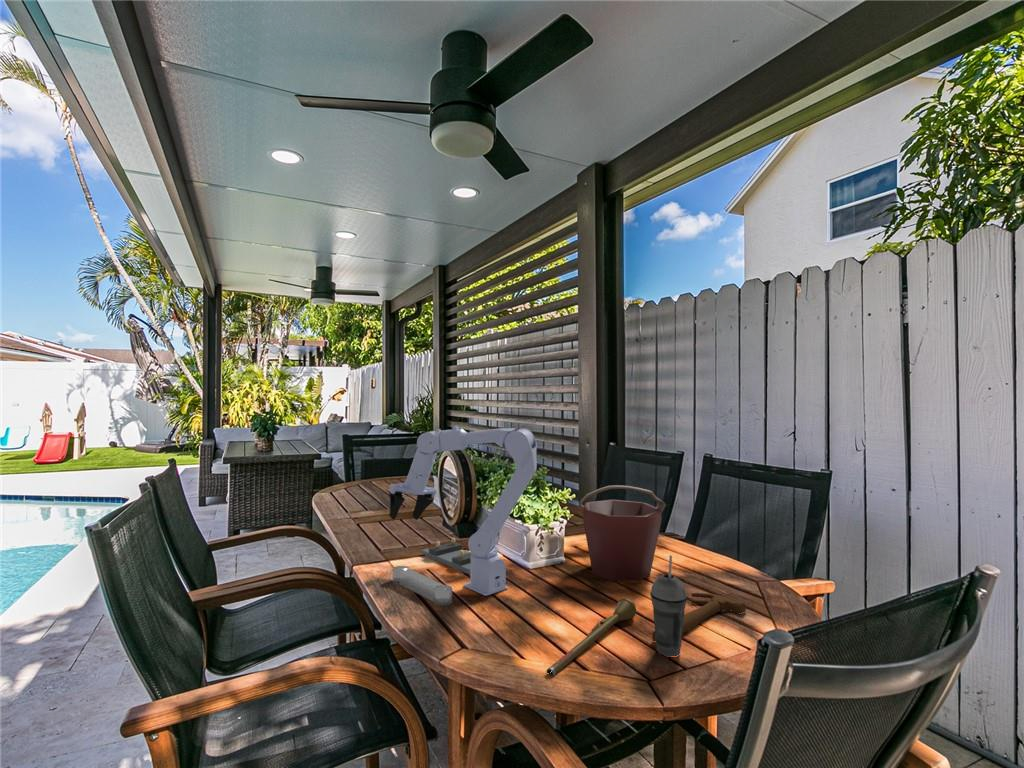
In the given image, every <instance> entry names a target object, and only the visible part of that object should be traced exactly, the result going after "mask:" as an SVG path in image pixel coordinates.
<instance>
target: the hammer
mask: <svg viewBox="0 0 1024 768" xmlns="http://www.w3.org/2000/svg"><path fill="white" fill-rule="evenodd" d="M691 597H692V598H703V600H701V599H700V600H699V599H698V600H697V599H695V600H694V599H693V600H691V603H695V604H696V603H697V604H704V605H702V606H700V607H697V608H696V609H694V610H691V611H689V612H688V613H684V620H683V630H682V633H683V634H684V632H685V633H686V632H688V631H690V630H691V629H693V628H694V627H696V626H697V625H698V624H700V623H701V622H703V621H704V620H707V618H709V617H711V616H712V614H713V615H715V614H718V612H720V611H723V610H732V611H735V612H737V613H740V614H741V613H743V612H745V613H746V608H747V607H746V604H745V603H744V602H742V601H735V600H733V599H731V598H730V597H727V596H723V595H719V594H715V593H707V592H706V593H705V592H703V593H702V592H692V593H691ZM704 598H705V599H710V600H704ZM698 602H699V603H698ZM705 603H707V604H705ZM719 610H720V611H719ZM732 611H731V612H732ZM723 612H724V611H723ZM735 612H734V613H735ZM737 613H736V614H737ZM740 614H739V615H740ZM710 615H711V616H710ZM689 629H690V630H689ZM651 637H652V641H653V642H654V641H656V638H655V630H654V631H653V632H652V634H651Z"/></svg>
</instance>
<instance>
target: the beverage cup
mask: <svg viewBox="0 0 1024 768" xmlns="http://www.w3.org/2000/svg"><path fill="white" fill-rule="evenodd" d="M672 565H673V555H672V554H671V555H669V560H668V574H662V575H660V576H658V577H657V578H656V579H655V580H654V581H653V583H652V585H651V589H650V594H649V595H650V599H651V604H652V610H653V611H652V612H653V624H654V631H655V638H656V643H655V644H656V652H657V651H658V652H659V653H660V654H662V655H664V656H669V657H670V656H677V655H679V654H680V655H681V648H682V639H683V634H682V630H683V620H684V615H685V610H686V605H687V601H688V595H687V590H686V587H685V585H684V584H683V582H682V581H681V580H680V578H679V577H677V576H675V575H672V568H673V567H672ZM660 654H659V655H660ZM680 655H679V656H680ZM664 656H663V657H664Z"/></svg>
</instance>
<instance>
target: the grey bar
mask: <svg viewBox="0 0 1024 768" xmlns="http://www.w3.org/2000/svg"><path fill="white" fill-rule="evenodd" d="M392 583H393V584H395V585H400V586H403V587H404V588H406V589H408V590H410V591H412V592H414V593H416V594H418V595H420V596H421V597H424V598H426V599H428V600H430V601H432V602H433V603H434V604H435V605H436V606H440V607H444V606H445V607H446V606H450V605H452V603H453V587H452V586H451V585H448V584H443V583H441V582H438V581H437V580H434V579H432V578H430V577H428V576H426V575H423V574H421V573H419V572H417V571H415V570H413V569H410V567H409V566H407V565H397V566H394V567H393V568H392Z"/></svg>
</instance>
